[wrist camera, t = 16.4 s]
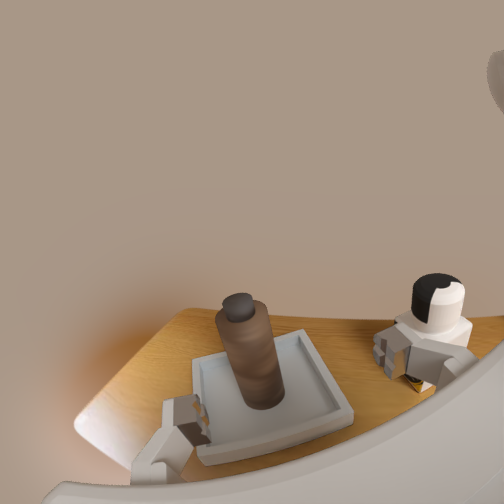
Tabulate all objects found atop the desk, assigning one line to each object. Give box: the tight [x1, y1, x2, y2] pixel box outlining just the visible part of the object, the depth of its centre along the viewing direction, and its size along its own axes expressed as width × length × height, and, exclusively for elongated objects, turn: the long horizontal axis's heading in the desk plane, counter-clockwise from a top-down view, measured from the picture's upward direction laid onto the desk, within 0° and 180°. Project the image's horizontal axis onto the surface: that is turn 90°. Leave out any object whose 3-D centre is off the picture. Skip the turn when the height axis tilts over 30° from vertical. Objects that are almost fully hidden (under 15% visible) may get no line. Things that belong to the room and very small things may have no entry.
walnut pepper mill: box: [215, 293, 285, 410], centre depth 28 cm, size 5×5×14 cm
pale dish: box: [192, 329, 354, 466], centre depth 30 cm, size 16×16×2 cm
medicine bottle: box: [394, 273, 472, 393], centre depth 26 cm, size 7×7×12 cm
